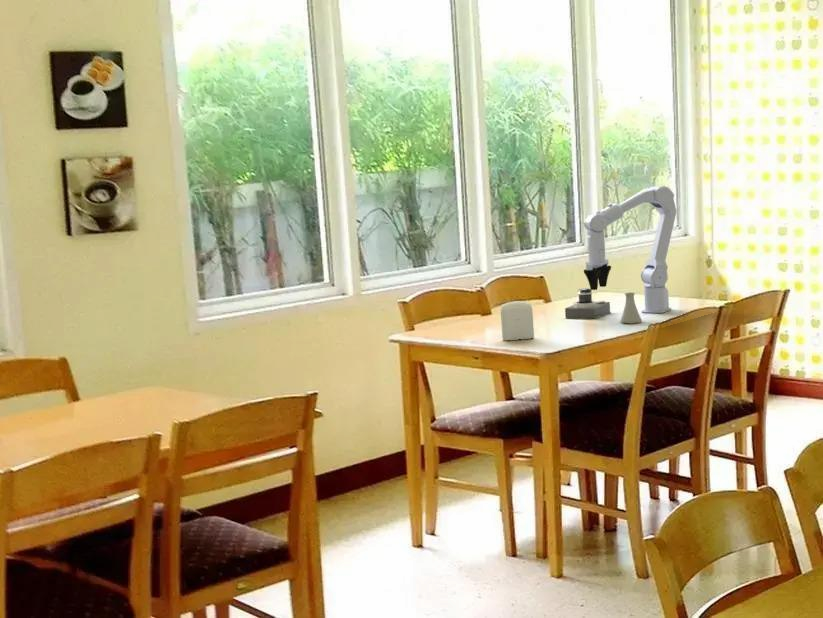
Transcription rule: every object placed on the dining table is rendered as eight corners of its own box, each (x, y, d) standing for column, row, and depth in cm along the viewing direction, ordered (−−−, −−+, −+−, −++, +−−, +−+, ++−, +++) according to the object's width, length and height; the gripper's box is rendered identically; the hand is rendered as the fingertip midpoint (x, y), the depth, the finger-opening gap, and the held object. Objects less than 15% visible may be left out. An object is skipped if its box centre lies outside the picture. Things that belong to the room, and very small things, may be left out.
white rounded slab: (502, 341, 391) (500, 303, 389) (501, 339, 395) (499, 301, 393) (535, 339, 391) (532, 301, 389) (533, 337, 395) (531, 299, 393)
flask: (641, 323, 407) (640, 294, 405) (619, 324, 408) (618, 295, 407) (642, 320, 414) (640, 291, 412) (620, 321, 415) (619, 292, 414)
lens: (583, 305, 433) (582, 288, 432) (594, 305, 430) (594, 288, 429) (576, 307, 430) (575, 289, 429) (587, 307, 427) (587, 290, 426)
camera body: (581, 311, 441) (581, 298, 440) (610, 312, 435) (609, 298, 434) (565, 318, 429) (564, 304, 429) (594, 318, 423) (593, 304, 423)
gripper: (594, 247, 430) (596, 285, 432) (577, 251, 418) (579, 291, 420) (613, 246, 427) (615, 285, 428) (596, 251, 415) (598, 291, 416)
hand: (598, 288), depth 424 cm, fingers open, 7 cm apart
